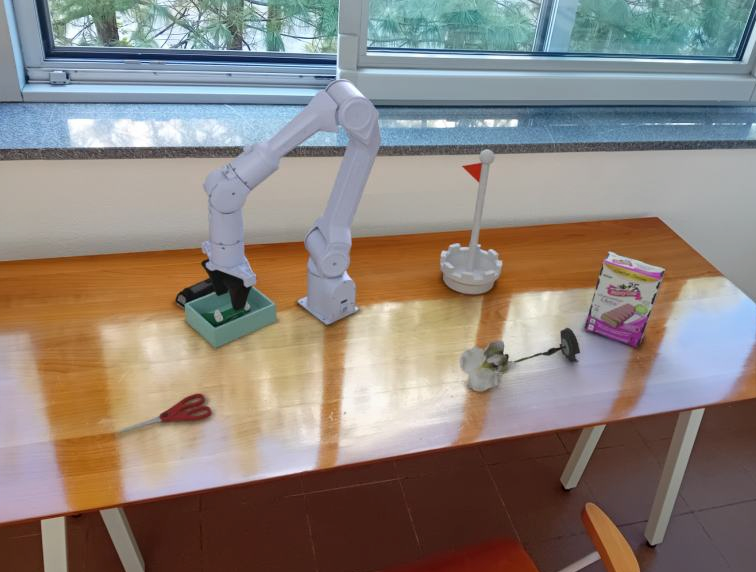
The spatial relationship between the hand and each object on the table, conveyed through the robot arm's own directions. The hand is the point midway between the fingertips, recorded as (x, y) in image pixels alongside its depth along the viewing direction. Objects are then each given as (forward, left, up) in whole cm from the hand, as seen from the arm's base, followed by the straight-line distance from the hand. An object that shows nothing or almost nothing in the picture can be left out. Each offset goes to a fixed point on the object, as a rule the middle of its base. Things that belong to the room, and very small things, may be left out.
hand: (230, 300), depth 134 cm
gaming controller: (0, +1, -4) cm, 4 cm away
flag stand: (-17, -47, -5) cm, 50 cm away
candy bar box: (-48, -56, -5) cm, 74 cm away
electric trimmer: (+11, -2, -5) cm, 12 cm away
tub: (0, 0, -5) cm, 5 cm away
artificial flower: (-44, -32, -5) cm, 54 cm away
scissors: (-15, +22, -5) cm, 27 cm away
